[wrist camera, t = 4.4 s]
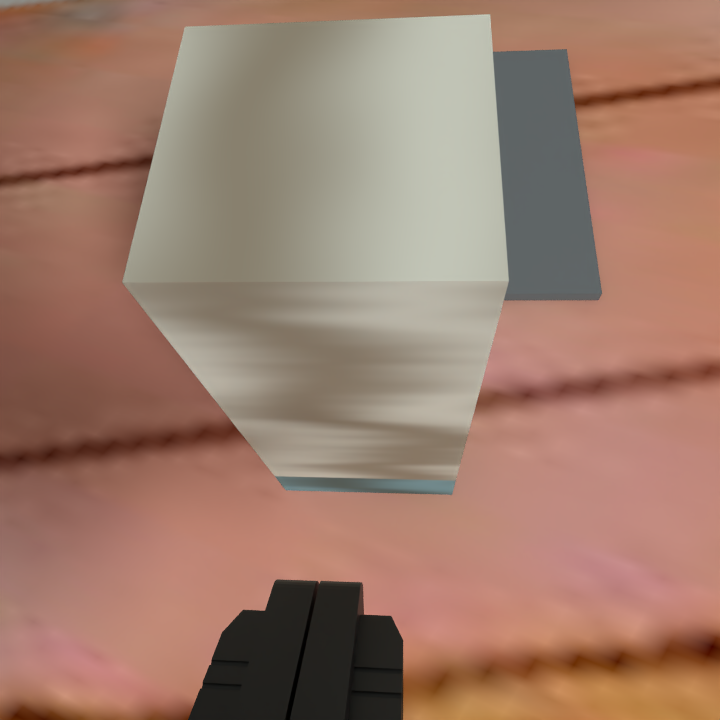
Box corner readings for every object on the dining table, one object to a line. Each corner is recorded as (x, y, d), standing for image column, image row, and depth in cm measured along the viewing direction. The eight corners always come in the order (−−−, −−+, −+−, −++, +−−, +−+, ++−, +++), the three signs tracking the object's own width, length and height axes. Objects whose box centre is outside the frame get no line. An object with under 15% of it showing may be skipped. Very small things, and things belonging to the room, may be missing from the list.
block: (448, 343, 24) (490, 14, 12) (451, 494, 22) (508, 281, 9) (299, 343, 25) (185, 27, 12) (285, 490, 22) (122, 282, 10)
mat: (564, 58, 31) (566, 49, 30) (598, 300, 25) (601, 293, 24) (213, 70, 32) (210, 62, 32) (165, 300, 26) (161, 294, 26)
